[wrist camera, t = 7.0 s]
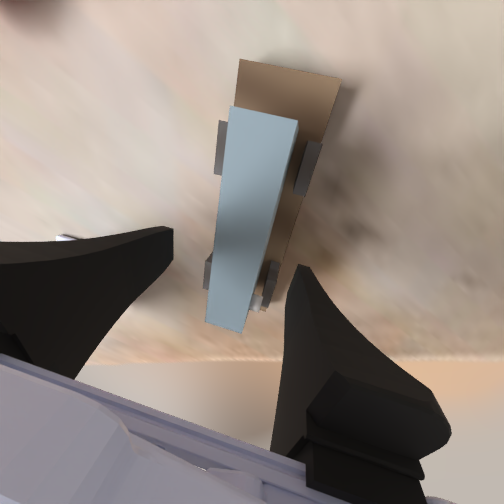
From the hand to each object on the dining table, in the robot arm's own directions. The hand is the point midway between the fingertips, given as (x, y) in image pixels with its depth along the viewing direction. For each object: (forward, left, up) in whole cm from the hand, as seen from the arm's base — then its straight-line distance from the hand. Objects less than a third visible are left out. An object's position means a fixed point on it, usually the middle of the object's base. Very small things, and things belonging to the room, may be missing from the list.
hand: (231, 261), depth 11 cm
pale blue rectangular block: (0, 0, -7) cm, 7 cm away
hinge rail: (0, 0, -9) cm, 9 cm away
